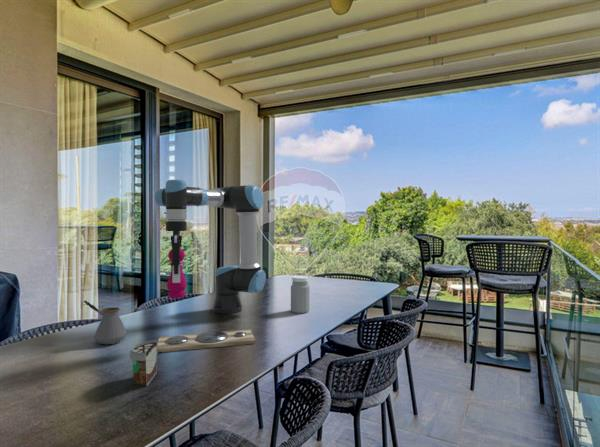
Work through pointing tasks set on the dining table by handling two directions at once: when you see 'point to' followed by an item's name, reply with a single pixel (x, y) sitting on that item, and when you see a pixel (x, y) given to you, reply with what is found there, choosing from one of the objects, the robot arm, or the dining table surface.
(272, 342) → the dining table surface
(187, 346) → the tan flat board
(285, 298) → the dining table surface
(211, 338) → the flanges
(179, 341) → the flange
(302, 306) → the jar
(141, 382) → the white and brown wedge
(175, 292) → the pepper mill
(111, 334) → the coffee pot
